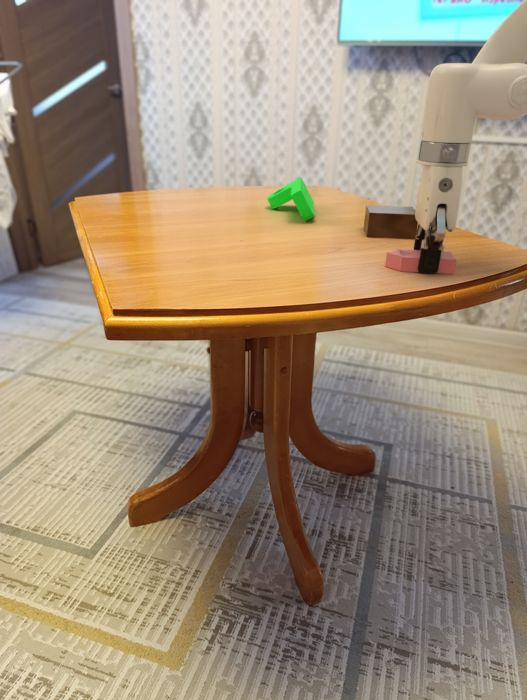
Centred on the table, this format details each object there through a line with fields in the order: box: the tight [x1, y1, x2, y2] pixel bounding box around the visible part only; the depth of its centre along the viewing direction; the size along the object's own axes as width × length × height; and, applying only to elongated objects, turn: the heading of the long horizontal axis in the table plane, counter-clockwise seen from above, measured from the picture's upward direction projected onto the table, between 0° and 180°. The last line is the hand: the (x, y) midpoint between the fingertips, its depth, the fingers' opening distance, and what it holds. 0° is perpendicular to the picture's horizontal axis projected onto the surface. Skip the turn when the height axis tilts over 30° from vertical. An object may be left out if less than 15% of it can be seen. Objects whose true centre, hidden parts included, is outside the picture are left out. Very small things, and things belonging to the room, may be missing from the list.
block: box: [363, 204, 419, 240], centre depth 108 cm, size 10×8×5 cm
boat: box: [384, 240, 458, 275], centre depth 87 cm, size 11×5×4 cm, turn 85°
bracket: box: [266, 176, 316, 222], centre depth 123 cm, size 20×10×7 cm
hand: (424, 265), depth 87 cm, fingers closed on boat, 5 cm apart
